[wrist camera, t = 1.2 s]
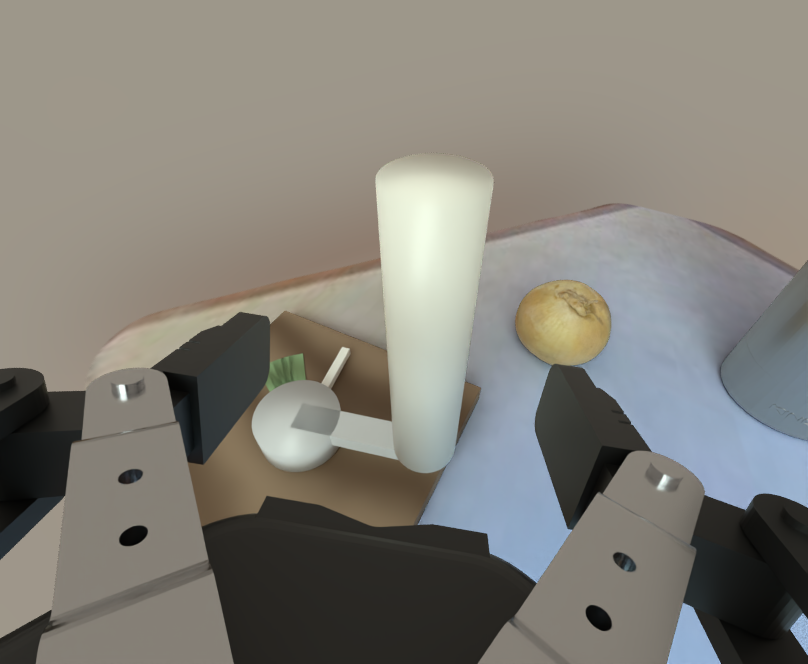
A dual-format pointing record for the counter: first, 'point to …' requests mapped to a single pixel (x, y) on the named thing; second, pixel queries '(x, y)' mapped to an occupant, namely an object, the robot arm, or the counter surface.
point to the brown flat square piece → (347, 469)
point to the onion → (563, 322)
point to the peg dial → (402, 326)
